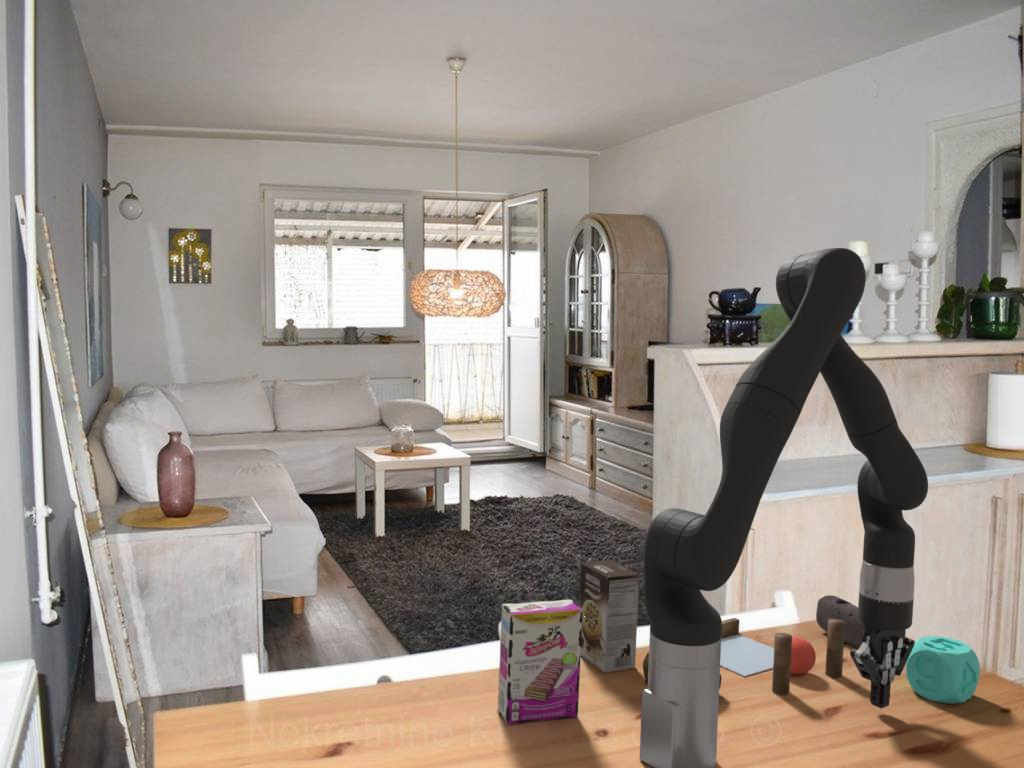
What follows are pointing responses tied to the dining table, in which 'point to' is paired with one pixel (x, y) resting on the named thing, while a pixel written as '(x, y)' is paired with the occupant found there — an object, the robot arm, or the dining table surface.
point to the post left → (782, 663)
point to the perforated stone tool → (840, 618)
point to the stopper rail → (730, 627)
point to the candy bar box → (539, 661)
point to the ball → (801, 656)
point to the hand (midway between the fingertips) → (879, 705)
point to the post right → (835, 648)
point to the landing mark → (745, 655)
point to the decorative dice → (943, 669)
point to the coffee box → (609, 615)
